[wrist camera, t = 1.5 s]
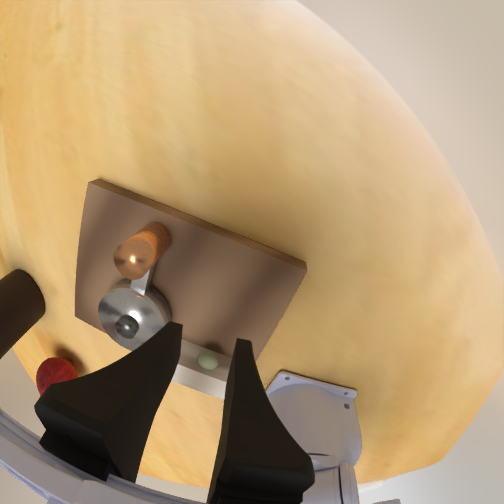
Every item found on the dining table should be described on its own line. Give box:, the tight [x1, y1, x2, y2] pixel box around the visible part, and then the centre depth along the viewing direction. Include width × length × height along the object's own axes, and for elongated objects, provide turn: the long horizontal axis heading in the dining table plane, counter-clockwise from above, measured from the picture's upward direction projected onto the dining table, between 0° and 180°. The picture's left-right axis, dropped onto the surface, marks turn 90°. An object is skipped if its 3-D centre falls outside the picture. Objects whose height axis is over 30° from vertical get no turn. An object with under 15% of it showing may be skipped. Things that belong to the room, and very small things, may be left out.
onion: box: [36, 357, 78, 397], centre depth 26 cm, size 6×6×8 cm
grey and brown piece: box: [98, 223, 171, 351], centre depth 20 cm, size 11×6×4 cm, turn 158°
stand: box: [75, 179, 307, 399], centre depth 21 cm, size 18×14×4 cm
